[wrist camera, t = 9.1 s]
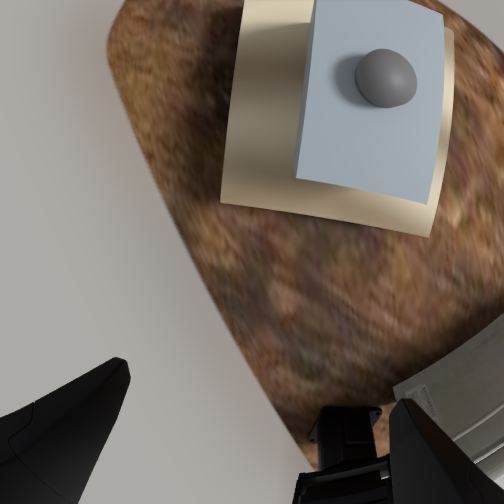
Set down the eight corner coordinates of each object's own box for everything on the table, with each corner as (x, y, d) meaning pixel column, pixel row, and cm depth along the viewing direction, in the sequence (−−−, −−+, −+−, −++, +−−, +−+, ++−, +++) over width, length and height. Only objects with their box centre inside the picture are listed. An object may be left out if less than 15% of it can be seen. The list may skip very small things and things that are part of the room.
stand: (410, 222, 17) (428, 237, 14) (230, 192, 18) (220, 202, 15) (432, 42, 12) (453, 31, 10) (254, 2, 13) (248, -19, 10)
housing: (309, 22, 11) (320, -34, 6) (401, 44, 11) (451, 9, 5) (292, 165, 14) (297, 181, 9) (385, 183, 14) (436, 210, 8)
